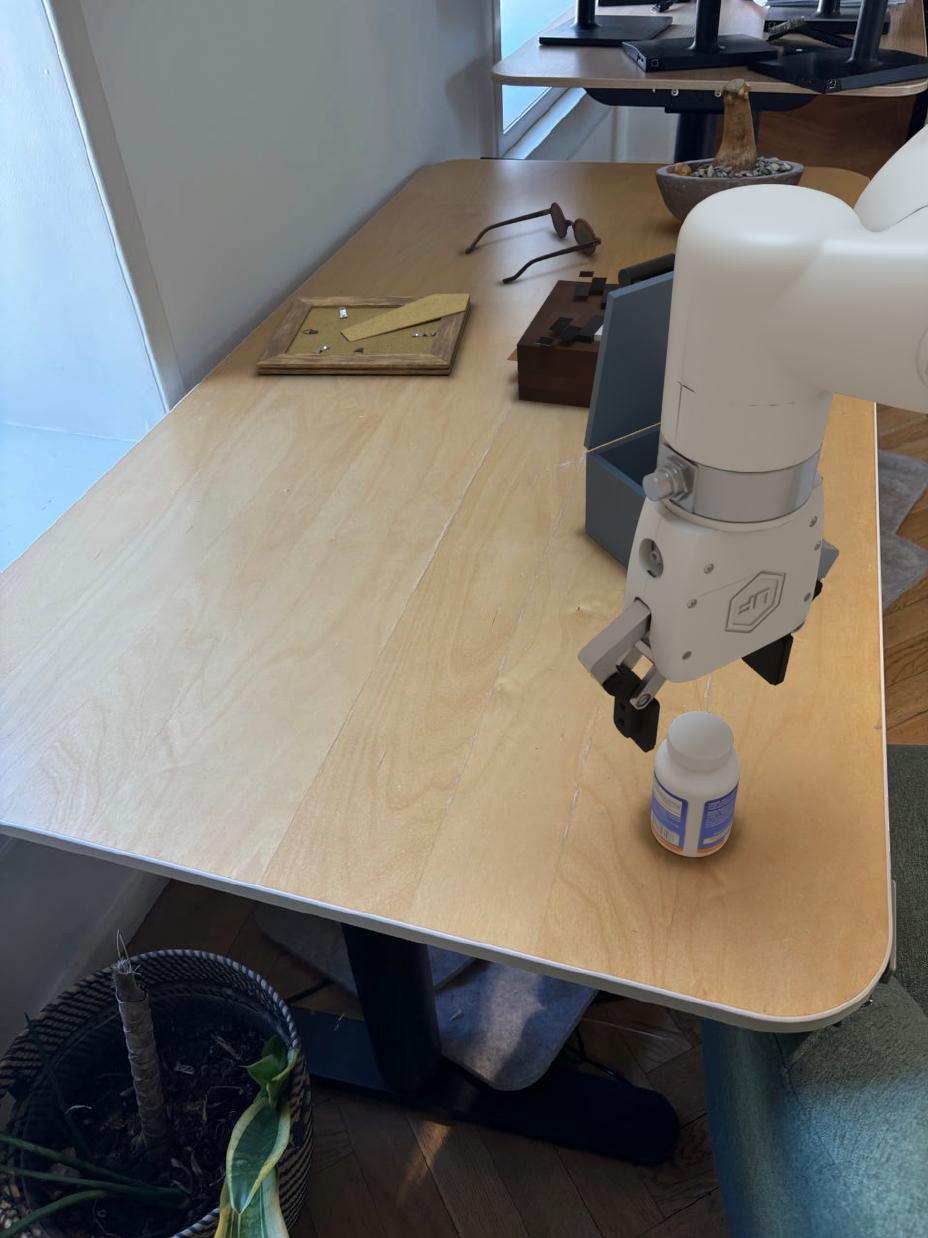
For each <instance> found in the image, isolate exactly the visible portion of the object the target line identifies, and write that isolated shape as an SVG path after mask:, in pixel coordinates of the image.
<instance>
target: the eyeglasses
mask: <svg viewBox="0 0 928 1238" xmlns="http://www.w3.org/2000/svg"><path fill="white" fill-rule="evenodd" d="M548 215H550V218H551V222H552V226H553V229H554V230H555V233H556V234H557V236H558V237H559V238H560V239H565V238H566V237H567V234H568V229H569V227H571V228H572V230H573V238H574V241H575V242H576V245H573V246H569V247H566V248H562V249H560V250H557V251H553V252H550V253H547V254H543V255H541V256H540V255H539V256H537V257H535V258H532V259H530V260H529V261H528V262H526V263H525V264H524V265H523V266H522V267H521V268H520V269H519V270H518V271H517V272H516V273H515V274H514V275H512V276H508V277H505V278H503V279H502V284H507V283H512V282H514V281H516V280H517V279H518V278H520V277H521V276H522V275H523V274H524V273H525V272H526V271H527V269H529V267H531V266H532V265H534V264H536V263H540V262H543V261H546V260H548V259H552V258H555V257H556V258H557V257H559V256H564V255H567V254H572V253H576V252H579V251H582V252H583V253H585V254H586V255H592V254H594V253H595V252H596V249H597V246H599V245H601V244H602V238H601V237H597V236H596V233H595V232H594V229H593V228H592V226H591V225H590V223H589V222H588V221H587V220H586V219H584V218H581V217H578V218H576V219H575V220H574V221H572V220H571V219H566V217H565V214H564V212H563V210H562V208H561V206H560V204H559V203H558V202H556V201H554V202H551V204H550V207H548V208H545V209H541V210H538V211H534V212H531V213H528V214H524V215H520V216H516V217H514V218H509V219H506V220H503V221H500V222H497V223H496V222H495V223H493V224H491V225H489V226H486V227H485V228H483V229H482V230H481V231H480V232H479V234H478V235H477V236H476V237H475V239H474V240H473V242H472V243H471V244H470V245H469V246H468V247H467V248H466V249H465V253H467V254H469V253H470V252H471V251H473V250H474V249H475V247H476V246H477V244H479V242H480V240H482V238H483V237H484V235H485V234H487V233H488V232H489V231H491V230H494V229H498V228H501V227H505V226H508V225H512V224H517V223H520V222H525V221H529V220H533V219H538V218H541V217H544V216H548Z"/></svg>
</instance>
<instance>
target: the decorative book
mask: <svg viewBox="0 0 928 1238" xmlns="http://www.w3.org/2000/svg"><path fill="white" fill-rule="evenodd" d="M594 275H595V271H591V270H590V271H589V270H580V271H579V274H578V278H592V279H591V282H590V281H580V280H579V281H577V280H563V279H557V282H556V283H555V285H554V286H553V287H552V289H551V291H550V293H549V294H548V295H547V297H546V299H545V300H544V301H543V303H542V304H541V306H540V308H539V309H538V310H537V312H536V313H535V315H534V317H533V319H532V320H531V321H530V323H529V324H528V326H527V328H526V329H525V331H524V332H523V333H522V335H521V337H520V339H519V340H518V342H517V343H516V348H515V349H514V350H513V352H512V353H510V355H509V356H508V358H506V360H507V361H512V362H516V363H517V365H516V366H517V386H518V390H517V391H518V400H522V401H531V402H539V403H548V404H556V405H564V406H575V407H582V408H583V407H584V408H590V403H591V396H592V390H593V384H594V378H595V372H596V366H597V359H598V353H599V347H600V341H601V335H602V329H603V323H604V316H605V310H606V304H607V298H608V293H609V292H612V291H615V290H618V289H621V287H620V285H619V283H607V280H608V277H604V276H603V277H601V276H600V277H599V276H597V277H596V276H595V277H594Z"/></svg>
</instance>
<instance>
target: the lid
mask: <svg viewBox="0 0 928 1238" xmlns="http://www.w3.org/2000/svg"><path fill="white" fill-rule="evenodd" d="M675 255H676V253H673V252H670V253H666V254H663V255H660V256H657V257H654V258H651V259H648V260H645V261H642V262H640V263H639V262H638V263H636V264H633V265H630V266H627V267H623V268H621V269H620V270H618V274H617V282H618V284H619V285H620V287H621V289H618V290H615V291H612V292H609V293H608V298H607V304H606V310H605V316H604V323H603V329H602V335H601V341H600V347H599V353H598V359H597V366H596V372H595V378H594V384H593V390H592V396H591V403H590V407H589V409H588V414H587V415H588V416H587V421H586V428H585V429H586V430H585V435H584V440H583V447H584V448H585V449H586V450H587V451H592V450H594V449H597V448H599V447H602V446H604V445H607V444H609V443H612V442H614V441H617V440H620V439H622V438H625V437H627V436H630V435H632V434H635V433H637V432H640V431H642V430H645V429H647V428H650V427H653V426H655V425H658V424H660V423H661V413H662V402H663V391H664V380H665V369H666V358H667V347H668V335H669V324H670V312H671V300H672V289H673V277H674V266H675Z"/></svg>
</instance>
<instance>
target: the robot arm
mask: <svg viewBox="0 0 928 1238" xmlns="http://www.w3.org/2000/svg"><path fill="white" fill-rule="evenodd" d="M835 394H838V395H842V396H846V397H850V398H854V399H859V400H863V401H867V402H872V403H875V404H879V405H883V406H888V407H892V408H896V409H901V410H905V411H910V412H915V413H919V414H925V415H928V123H927V124H925V125H924V126H923V128H921V129H920V130H919V131H917V132H916V134H914V135H913V136H912V137H911V138H910V139H909V140H908V141H907V142H906V143H905V144H903V146H901V148H899V149H898V150H897V151H896V152H895V153H894V154H893V155H892V156H891V157H890V158H889V159H888V160H887V161H886V162H885V163H884V165H882V167H881V168H880V169H879V170H878V171H877V172H876V173H875V175H874V176H873V177H872V178H871V180H870V181H869V183H868V184H867V186H866V187H865V188H864V189H863V191H862V193H860V195H859V197H858V199H857V201H856V203H855V205H854V206H853V208H852V207H850V205H848V204H847V203H846V202H845V201H843V199H841V198H839V197H837V196H835V195H832V194H830V193H827V192H824V191H822V190H817V189H813V188H809V187H805V186H800V185H799V186H798V185H797V186H792V185H780V184H761V185H750V186H743V187H737V188H732V189H728V190H725V191H721V192H718V193H716V194H713V195H711V196H709V197H708V198H706V199H704V200H703V201H701V202H700V203H698V204H697V205H696V206H695V207H694V208H693V209H692V210H691V212H690V213H689V214H688V215H687V217H686V219H685V221H684V222H682V224H681V227H680V229H679V232H678V236H677V241H676V250H675V266H674V277H673V289H672V300H671V312H670V324H669V335H668V347H667V358H666V369H665V380H664V391H663V402H662V413H661V422H660V423H661V426H660V436H659V447H658V458H657V469H656V470H655V471H654V473H651V474H649V475H646V476H645V477H644V478H643V483H642V484H643V489H644V492H645V494H646V499H645V502H644V505H643V508H642V511H641V514H640V518H639V521H638V525H637V529H636V533H635V537H634V541H633V545H632V550H631V555H630V560H629V565H628V569H627V573H626V579H625V585H624V595H623V604H622V605H623V607H622V612H621V613H620V614H619V615H618V616H616V617H615V619H613V621H611V622H610V623H609V624H608V625H607V626H606V627H604V628H603V630H601V631H600V632H599V633H598V634H597V635H596V636H595V637H593V638H592V639H591V640H590V641H589V642H588V643H587V644H586V645H585V646H583V647H582V648H581V649H580V651H578V654H577V660H578V661H579V663H580V664H581V665H582V666H583V667H584V669H585V670H586V671H587V673H589V675H590V677H591V678H592V679H593V680H594V681H595V682H596V683H597V684H598V685H599V686H600V687H601V688H602V689H603V690H604V691H605V692H606V693H607V694H608V695H609V696H611V697H613V698H614V701H613V714H612V715H613V716H612V720H613V724H614V726H615V728H616V729H617V731H618V732H619V733H620V734H621V735H622V736H623V737H624V738H626V739H631V740H632V742H634V743H635V744H636V745H637V746H638V747H639V749H640V750H641V751H642V752H643V753H646V754H647V753H648V752H650V751H653V750H654V749H655V748H656V747H655V746H656V745H657V738H658V729H659V721H660V712H661V704H660V701H659V700H658V698H656V697H655V696H656V695H657V694H658V692H659V691H660V690H661V688H662V687H663V686H664V684H665V683H666V682H667V681H668V682H669V683H674V684H681V683H687V682H691V681H695V680H697V679H699V678H702V677H704V676H706V675H710V674H711V673H714V672H715V671H718V670H720V669H721V668H724V667H726V666H727V665H730V664H732V663H734V662H736V661H738V660H740V659H741V660H742V661H743V663H745V664H746V665H747V666H748V667H749V668H750V669H752V670H753V672H755V673H756V674H758V675H759V677H761V678H762V679H763V680H765V681H766V682H767V683H768V684H769V685H770V686H775V687H776V686H778V685H780V684H783V682H784V681H785V678H786V674H787V670H788V665H789V660H790V656H791V652H792V648H793V643H794V639H795V638H794V636H793V635H792V634H795V633H797V632H799V631H800V630H801V629H803V627H804V625H805V623H806V621H807V617H808V616H809V612H810V610H811V606H812V603H813V601H814V600H815V599H816V598H817V597H819V595H820V594H821V593H822V589H823V588H824V587H823V586H824V584H823V582H822V579H825V578H827V575H828V573H829V572H830V571H831V569H832V567H833V565H834V564H835V562H836V560H837V559H838V557H839V555H840V550H839V548H838V547H836V546H835V545H833V544H832V543H830V542H829V541H827V540H826V539H824V537H823V536H824V524H825V495H824V484H823V480H822V478H821V477H822V475H821V473H820V471H819V470H818V466H819V463H820V457H821V452H822V448H823V443H824V439H825V436H826V432H827V431H826V430H827V425H828V421H829V416H830V412H831V407H832V403H833V397H834V395H835ZM642 656H644V657H645V658H646V659H647V660H648V661H649V662H650V663H651V664H652V665H651V667H649V669H648V671H647V672H646V674H645V675H644V676H643V678H640V676H639V675H638V674H637V673H635V671H634V670H633V669H634V668H635V666H637V664H638V662H639V661H640V659H641V658H642Z"/></svg>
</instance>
